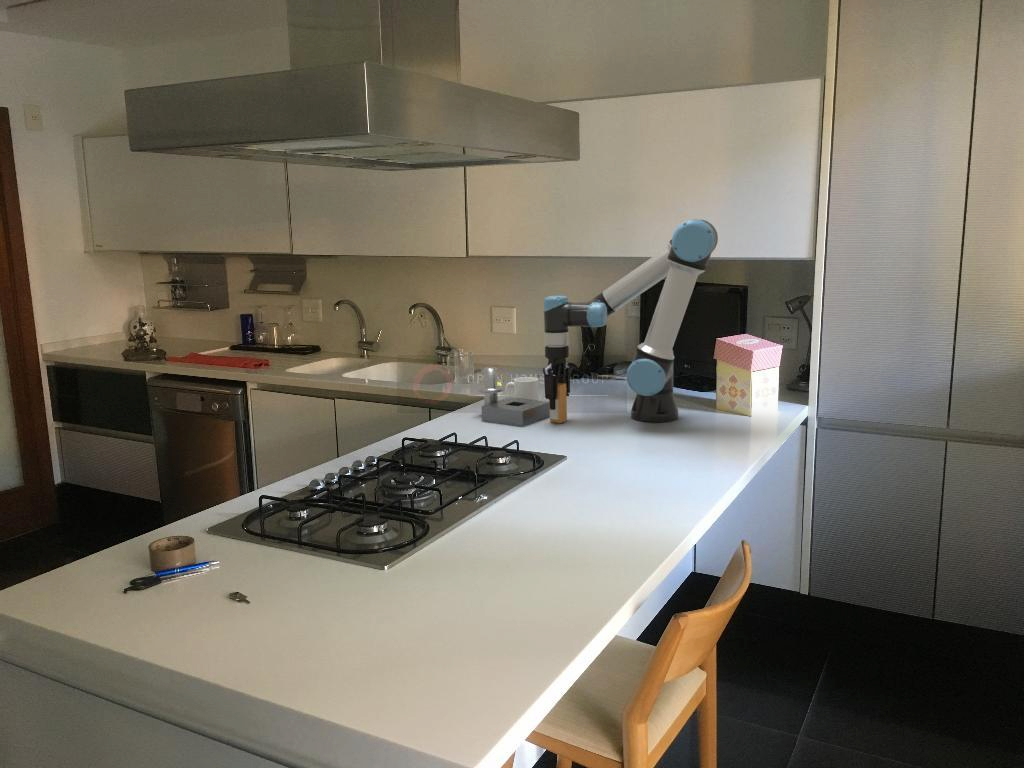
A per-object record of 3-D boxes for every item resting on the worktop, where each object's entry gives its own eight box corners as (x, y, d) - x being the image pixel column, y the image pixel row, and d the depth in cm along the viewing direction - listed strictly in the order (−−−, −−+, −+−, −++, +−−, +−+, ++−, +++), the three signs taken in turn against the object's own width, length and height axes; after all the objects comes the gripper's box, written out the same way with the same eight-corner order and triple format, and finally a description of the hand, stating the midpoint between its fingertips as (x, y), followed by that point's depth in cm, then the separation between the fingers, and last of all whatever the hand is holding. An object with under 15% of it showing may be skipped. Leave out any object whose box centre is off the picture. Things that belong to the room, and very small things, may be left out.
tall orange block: (566, 420, 267) (566, 383, 265) (560, 423, 264) (559, 385, 262) (556, 419, 270) (555, 382, 267) (549, 421, 266) (548, 384, 264)
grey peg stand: (549, 416, 274) (549, 368, 271) (522, 426, 262) (521, 376, 259) (495, 409, 287) (494, 363, 284) (466, 418, 274) (465, 370, 271)
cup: (534, 411, 283) (533, 381, 281) (501, 409, 287) (500, 380, 285) (541, 406, 291) (541, 377, 289) (509, 404, 295) (509, 376, 293)
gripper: (560, 341, 271) (562, 411, 276) (531, 348, 258) (533, 421, 262) (580, 342, 267) (581, 413, 271) (552, 349, 253) (554, 424, 258)
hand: (558, 417), depth 267 cm, fingers closed on tall orange block, 4 cm apart
